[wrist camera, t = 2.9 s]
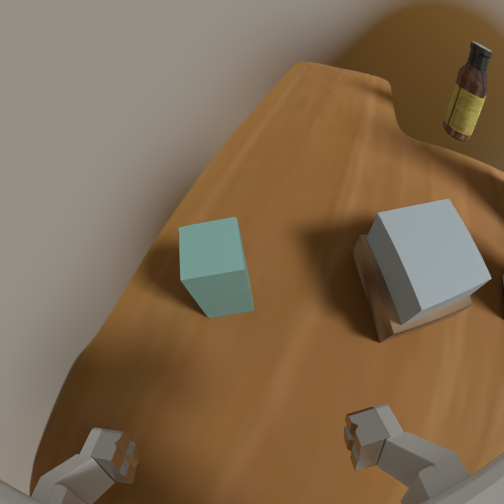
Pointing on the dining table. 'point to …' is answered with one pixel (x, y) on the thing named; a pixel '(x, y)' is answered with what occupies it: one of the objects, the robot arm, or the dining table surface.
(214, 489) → the dining table surface
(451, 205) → the grey block
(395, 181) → the dining table surface
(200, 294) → the teal block
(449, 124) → the sauce bottle
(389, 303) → the walnut block
